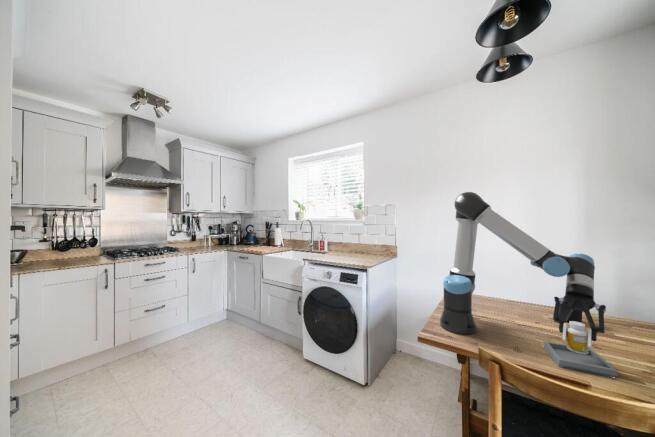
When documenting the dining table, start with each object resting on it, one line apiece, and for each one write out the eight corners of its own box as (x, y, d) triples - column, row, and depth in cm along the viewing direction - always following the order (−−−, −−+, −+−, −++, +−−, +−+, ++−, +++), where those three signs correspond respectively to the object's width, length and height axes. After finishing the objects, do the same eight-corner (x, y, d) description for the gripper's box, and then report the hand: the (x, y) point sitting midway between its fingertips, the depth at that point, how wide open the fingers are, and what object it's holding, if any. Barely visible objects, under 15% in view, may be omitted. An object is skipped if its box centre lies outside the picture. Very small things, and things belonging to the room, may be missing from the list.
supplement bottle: (565, 344, 88) (565, 318, 88) (586, 349, 85) (586, 322, 85) (568, 351, 84) (567, 323, 84) (590, 356, 81) (589, 328, 81)
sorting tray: (559, 366, 81) (559, 359, 81) (543, 347, 94) (543, 340, 94) (617, 378, 75) (617, 371, 75) (592, 356, 88) (592, 349, 88)
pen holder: (587, 322, 116) (586, 302, 116) (576, 326, 113) (576, 305, 113) (562, 315, 125) (562, 296, 125) (552, 318, 121) (551, 299, 121)
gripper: (616, 299, 87) (618, 361, 77) (549, 289, 102) (542, 339, 91) (616, 288, 84) (618, 350, 73) (546, 278, 98) (539, 330, 88)
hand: (576, 344), depth 82 cm, fingers closed on supplement bottle, 5 cm apart
